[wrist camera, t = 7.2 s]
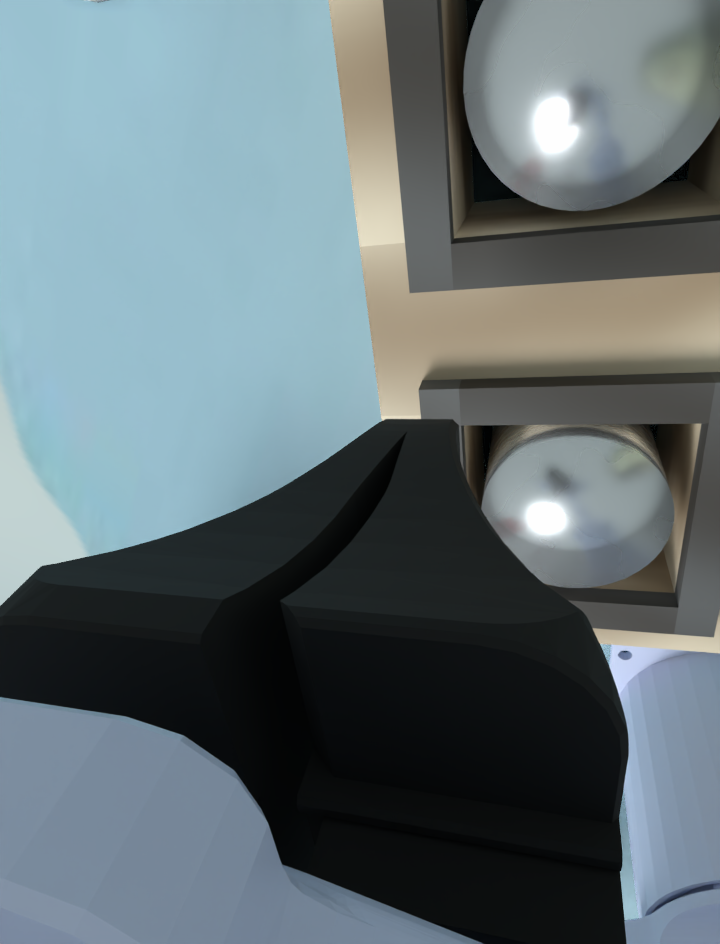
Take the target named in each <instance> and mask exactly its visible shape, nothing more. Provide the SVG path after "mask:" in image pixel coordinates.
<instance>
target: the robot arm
mask: <svg viewBox="0 0 720 944" xmlns="http://www.w3.org/2000/svg"><path fill="white" fill-rule="evenodd" d="M625 650H626V651H629V652H624V653H623V652H621V651H625ZM623 788H624V795H625V804H626V812H627V821H628V830H629V839H630V848H631V857H632V865H633V874H634V883H635V892H636V901H637V909H638V914H639V918H638V919H631V920H624V911H623V901H622V890H621V880H620V871H621V868H622V845H621V835H620V825H619V814H620V807H621V801H622V795H623ZM0 944H720V653H708V652H696V651H684V650H671V649H659V648H647V647H635V646H623V645H611V651H610V662H609V665H608V662H607V660H606V658H605V655H604V653H603V650H602V648H601V646H600V643H599V641H598V639H597V637H596V635H595V633H594V630H593V628H592V626H591V624H590V622H589V620H588V618H587V616H586V614H585V613H584V612H583V611H581V610H580V609H579V608H578V607H576V606H575V605H573V604H572V603H571V602H569V601H568V600H566V599H565V598H564V597H562V596H561V595H559V594H558V593H557V592H555V591H554V590H552V589H551V588H550V587H548V586H547V585H545V584H544V583H543V582H541V581H540V580H539V579H538V578H537V577H536V576H535V575H534V574H533V573H531V572H530V571H529V570H528V569H527V568H526V566H525V565H524V564H523V563H522V562H521V561H520V560H519V559H518V558H517V556H516V555H515V554H514V553H513V552H512V551H511V550H510V549H509V548H508V546H507V545H506V544H505V543H504V542H503V541H502V539H501V538H500V537H499V535H498V534H497V532H496V531H495V530H494V528H493V527H492V526H491V524H490V523H489V521H488V519H487V518H486V516H485V515H484V513H483V511H482V510H481V508H480V506H479V504H478V503H477V501H476V499H475V497H474V495H473V493H472V490H471V488H470V486H469V484H468V482H467V479H466V477H465V474H464V471H463V468H462V465H461V462H460V438H459V425H458V424H457V423H456V422H455V421H454V420H453V419H385V420H383V421H381V422H379V423H378V424H376V425H375V426H373V427H372V428H370V429H369V430H368V431H366V432H365V433H363V434H362V435H361V436H359V437H358V438H357V439H355V440H354V441H352V442H351V443H350V444H348V445H347V446H345V447H344V448H342V449H341V450H340V451H338V452H337V453H335V454H334V455H333V456H331V457H330V458H328V459H327V460H325V461H324V462H322V463H321V464H319V465H317V466H316V467H314V468H313V469H311V470H310V471H308V472H306V473H305V474H303V475H302V476H300V477H298V478H297V479H295V480H294V481H292V482H290V483H289V484H287V485H285V486H284V487H282V488H280V489H278V490H276V491H274V492H273V493H271V494H269V495H267V496H265V497H263V498H261V499H259V500H257V501H255V502H253V503H251V504H249V505H247V506H245V507H242V508H240V509H238V510H236V511H233V512H231V513H228V514H226V515H223V516H221V517H218V518H216V519H213V520H210V521H208V522H205V523H203V524H200V525H198V526H195V527H193V528H190V529H187V530H184V531H182V532H178V533H175V534H172V535H169V536H166V537H163V538H160V539H157V540H153V541H149V542H146V543H142V544H139V545H135V546H132V547H128V548H124V549H120V550H116V551H113V552H108V553H103V554H99V555H94V556H89V557H85V558H80V559H75V560H71V561H66V562H61V563H57V564H51V565H46V566H42V567H40V568H39V569H38V570H37V571H36V572H35V573H34V574H33V575H32V576H31V577H30V578H29V579H28V580H26V582H25V583H23V584H22V585H21V586H20V587H19V588H18V589H17V590H16V591H15V592H14V593H13V594H12V595H11V596H10V597H9V598H8V599H7V600H6V601H5V602H4V603H3V604H2V605H1V606H0Z"/></svg>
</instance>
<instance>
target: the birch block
mask: <svg viewBox="0 0 720 944" xmlns="http://www.w3.org/2000/svg"><path fill="white" fill-rule="evenodd" d="M329 8H330V16H331V24H332V32H333V39H334V47H335V55H336V63H337V71H338V79H339V87H340V95H341V103H342V110H343V118H344V126H345V134H346V142H347V150H348V158H349V166H350V174H351V181H352V189H353V197H354V205H355V213H356V221H357V229H358V237H359V244H360V252H361V260H362V268H363V276H364V284H365V292H366V300H367V308H368V315H369V323H370V331H371V339H372V347H373V355H374V363H375V371H376V379H377V386H378V394H379V402H380V410H381V418H382V421H383V420H385V419H453V420H454V421H455V422H456V423H457V424H458V425H459V438H460V462H461V465H462V468H463V471H464V474H465V477H466V479H467V482H468V484H469V486H470V488H471V490H472V493H473V495H474V497H475V499H476V501H477V503H478V504H479V506H480V508H481V507H482V499H483V492H484V485H485V481H484V455H483V428H482V425H588V424H658V428H657V436H656V446H657V449H658V453H659V456H660V459H661V462H662V465H663V469H664V472H665V475H666V478H667V481H668V485H669V488H670V491H671V494H672V498H673V502H674V510H675V513H674V524H673V528H672V532H671V534H670V537H669V539H668V541H667V543H666V544H665V546H664V548H663V549H662V551H661V552H660V553H659V554H658V555H657V557H656V558H655V559H654V560H653V561H651V562H650V563H649V564H648V565H647V566H646V567H644V568H643V569H641V570H640V571H638V572H637V573H635V574H633V575H631V576H629V577H627V578H625V579H622V580H620V581H617V582H614V583H611V584H607V585H603V586H597V587H589V588H566V587H558V586H553V585H548V584H545V583H544V584H545V585H547V586H548V587H550V588H551V589H552V590H554V591H555V592H557V593H558V594H559V595H561V596H562V597H564V598H565V599H566V600H568V601H569V602H571V603H572V604H573V605H575V606H576V607H578V608H579V609H580V610H581V611H583V612H584V613H585V614H586V616H587V618H588V620H589V622H590V624H591V626H592V628H593V630H594V633H595V635H596V637H597V639H598V641H599V643H600V644H611V645H623V646H635V647H647V648H659V649H671V650H684V651H696V652H708V653H720V117H719V119H718V121H717V122H716V124H715V126H714V127H713V129H712V130H711V132H710V133H709V135H708V136H707V137H706V139H705V140H704V141H703V143H702V144H701V145H700V147H699V148H698V149H697V150H696V151H695V152H694V153H693V154H692V156H691V157H690V161H689V169H688V177H687V180H684V181H675V182H665V183H659V184H658V185H657V186H655V187H654V188H652V189H650V190H648V191H646V192H645V193H643V194H641V195H639V196H637V197H635V198H633V199H630V200H628V201H626V202H623V203H620V204H617V205H613V206H610V207H607V208H601V209H595V210H589V211H567V210H558V209H553V208H549V207H545V206H541V205H539V204H536V203H534V202H531V201H529V200H527V199H525V198H523V197H522V198H513V199H503V200H493V201H484V202H474V186H473V160H472V134H471V131H470V128H469V124H468V120H467V115H466V111H465V102H464V92H463V85H464V66H465V58H466V51H467V47H468V26H467V0H329Z"/></svg>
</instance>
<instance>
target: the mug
mask: <svg viewBox="0 0 720 944" xmlns="http://www.w3.org/2000/svg"><path fill="white" fill-rule="evenodd" d="M86 1H93V2H103V1H108V0H86Z"/></svg>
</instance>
